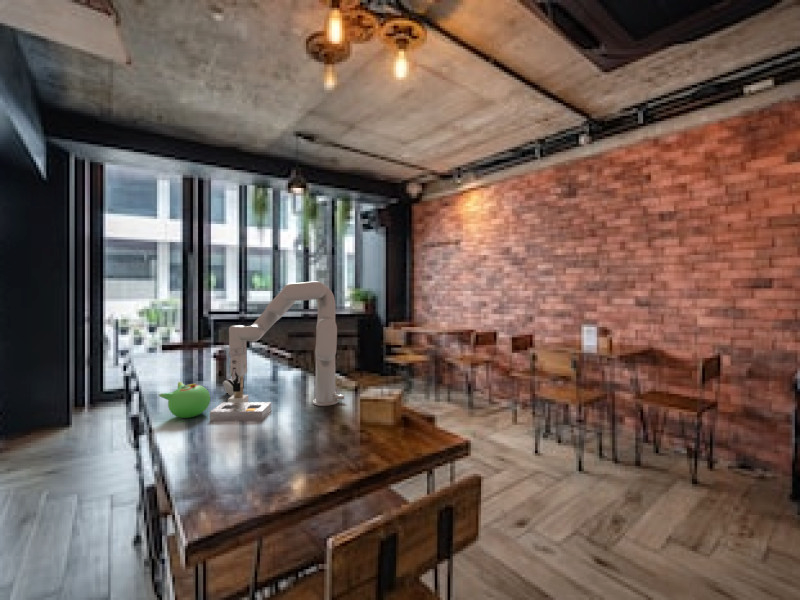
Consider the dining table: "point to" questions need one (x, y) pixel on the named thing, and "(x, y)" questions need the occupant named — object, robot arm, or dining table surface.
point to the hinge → (229, 387)
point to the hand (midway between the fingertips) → (238, 389)
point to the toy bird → (187, 400)
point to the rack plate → (241, 411)
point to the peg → (240, 394)
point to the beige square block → (238, 399)
